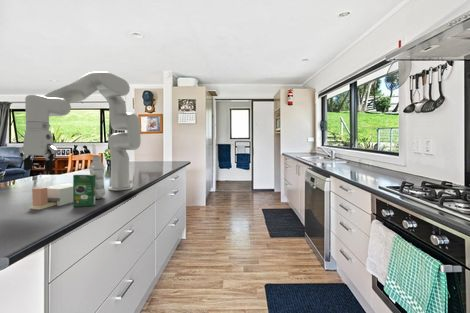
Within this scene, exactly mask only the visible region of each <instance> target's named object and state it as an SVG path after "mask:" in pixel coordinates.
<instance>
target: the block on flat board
mask: <svg viewBox="0 0 470 313" xmlns="http://www.w3.org/2000/svg"><path fill="white" fill-rule="evenodd" d="M45 187H46V186H43V187H42V186H41V187H40V186H39V187H32V189H31V190H32V191H31V192H32V195H31V196H32V205H30V206H29V209H30V210H43V209H48V208H51V207H54V206H57V201H48V194H47V188H45Z"/></svg>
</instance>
